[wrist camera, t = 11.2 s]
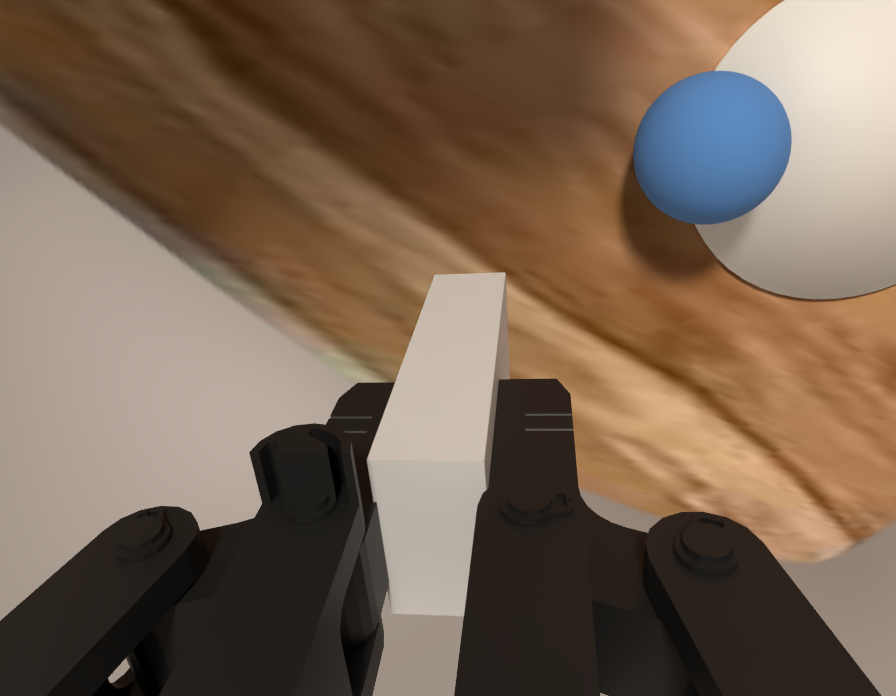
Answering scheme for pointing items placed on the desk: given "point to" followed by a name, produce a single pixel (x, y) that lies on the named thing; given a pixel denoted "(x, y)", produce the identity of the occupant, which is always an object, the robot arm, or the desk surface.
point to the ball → (712, 147)
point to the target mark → (822, 152)
